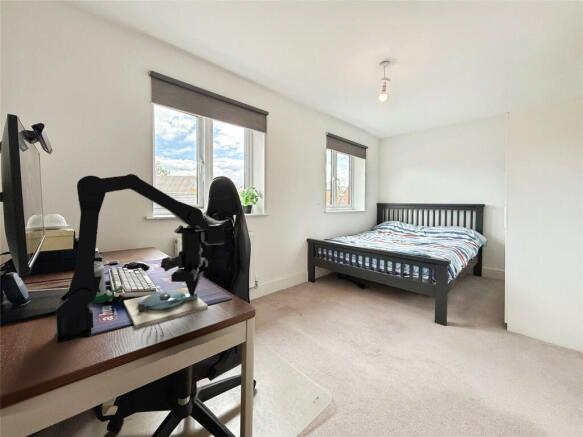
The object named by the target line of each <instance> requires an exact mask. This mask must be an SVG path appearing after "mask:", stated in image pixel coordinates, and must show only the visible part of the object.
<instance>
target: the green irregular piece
mask: <svg viewBox="0 0 583 437" xmlns="http://www.w3.org/2000/svg"><path fill="white" fill-rule="evenodd" d="M125 288H127V286H126V285H124V284H122V283H121V284H120V286H119V287H118V288H115V289H112V290H109V289H105V293H104V294H102V295H100V296H97V297H96V298H95V300H93V301H92V302H91V303H92V304H100V303H101V304H102V303H104V302H106V301H107V302H112V301H113V299H115V297H114V292H117V291H119V290H122V289H125Z"/></svg>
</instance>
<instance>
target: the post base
mask: <svg viewBox="0 0 583 437" xmlns="http://www.w3.org/2000/svg"><path fill="white" fill-rule="evenodd" d="M171 291H179V292H183V293H184V294H189V291H188V288H187V287H183V288H182V287H181V288H178V289H172V290H171ZM150 295H151V294H149V295H144V296H140V297H135V298H131V299H125V300H123V305H124V307H125V309H126V311H127V314H128V315H129V317H130V319H132V320H131V321H133V322H132V323H133V325H134V327H135V329H138V328H142V327H147V326H149V325H152V324H153V325H154V324H156V323H160V322H163V321H168V320H171V319H175V318H177V317H180V316H185V315H188V314H191V313H195V312H199V311H202V310H205V309H208V304H207V303H206V302H204V301H203V299H201V298H199V297H198V299H197V300H188V301H185V302H184V303H182V304H181V305H179V306H176V307H173V308H170V309H164V310H149V309H146V308H145V303H139V304H138V306H137V302H138V300H141V299H145V298H146V297H148V296H150Z"/></svg>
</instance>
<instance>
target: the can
mask: <svg viewBox="0 0 583 437" xmlns="http://www.w3.org/2000/svg"><path fill="white" fill-rule="evenodd" d="M94 266H95V272H97V271H102V278H101V281H100V285H101V292H100V293H99V292H97V295H96V297H97V296H100V295H102V294H104V293H105V292H106V273H105V272H106V269H105V268H106V267H105V266H104V265H103V262H102V261H94Z"/></svg>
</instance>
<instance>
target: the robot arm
mask: <svg viewBox="0 0 583 437" xmlns="http://www.w3.org/2000/svg"><path fill="white" fill-rule="evenodd" d="M124 190H131V191H132V192H135V193H136V194H138V195H140V196H142V197H143V198H146V199H147V200H149V201H151V202H152V203H154V204H156V205H158V206H160V207H161V208H164V209H165V210H166V211H168V212H169V213H171V214H172V216H174V217H175V218H176V219H178V220H179V221H180V222H181V223H183V224H184V225H187V226H190V227H184V226H183V225H181V224H180V225H179V226H178V227H177V228H176V229H174V231H173V232H174V233H175V234H178V235H180V234H181V250H180V251H179V252H178V254H176V255H173V256H172V257H171V256H167V257H164V258H161V262H160V264H161V265H160V268H161V269H163V270H164V272H168V271H170V270H171V269H172V270H173V269H175V268H178V269H175V271H174V272H172V274H171V275H170V279H171V280H170V281H171V283H185V285H186V288H187V289H188V291H189V294H190V295H194V293H195V291H196V288H197V286H198V285H199V283H200V281H201V279H202V276H203V274H204V272H205V271H204V270H200V269H199V268H201V267H202V266H204V268H207V267H208V266H209V265H208V264H209V260H208V259H207V258H206V257H202V253H203V251H204V249H203V248H202V243H203V244H204V245H205V246H215V245H216V246H217V245H224V244H225V243H226V238H227V237H226V236H227V235H226V233H225V228H224V224H222V223H216V224H208V222H207V221H206V220H205V218H204V213H203V211H202V210H201V209H199V208H198V207H195V206H193V205H190V204H189V203H188V204H187V203H184V202H182V201H179V200H177V199H176V198H174V197H171V196H170V195H168V194H166V193H165V192H163V191H162V190H160V189H158V188H157V187H155V186H153V185H151V184H149V183H148V182H146V181H145V180H143V179H141V178H140V177H139V176H137V174H134V173H133V174H132V173H129V174H126V175H118V176H110V177H103V178H101V177H99V176H96V175H86V176H83V177H81V178H80V179H79V180H78V181H77V184H76V192H77V196H78V198H77V199H78V203H79V204H78V205H79V210H80V217H79V218H80V219H79V230H78V238H77V249H76V250H77V251H76V260H75V268H74V271H73V274H72V278H71V281H70V284H69V287H68V290H67V291H66V292H65V293H64V294H62V296H61V297H60V298H59V299H58V302H57V305H56V307H55V310H54V314H55V318H56V340H55V341H56V343H61V342H65V341H69V340H71V339H78V338H79V337H84V336H87V335H91V334H92V329H94V312H93V309H91V308H90V304H91V303H92V301H93V300H95V298H96V295H97V292H99V293H100V292H101V285H100V281H101V278H102V271H97V272H95V266H94V262H96V260H95V257H96V250H97V248H96V247H97V241H98V240H97V239H98V238H97V237H98V230H99V228H98V227H99V218H100V217H99V216H100V212H101V209H102V206H103V203H104V200H105V197H106V194H107V193H111V192H119V191H124ZM194 227H196V228H199V229H196V228H194Z"/></svg>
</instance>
